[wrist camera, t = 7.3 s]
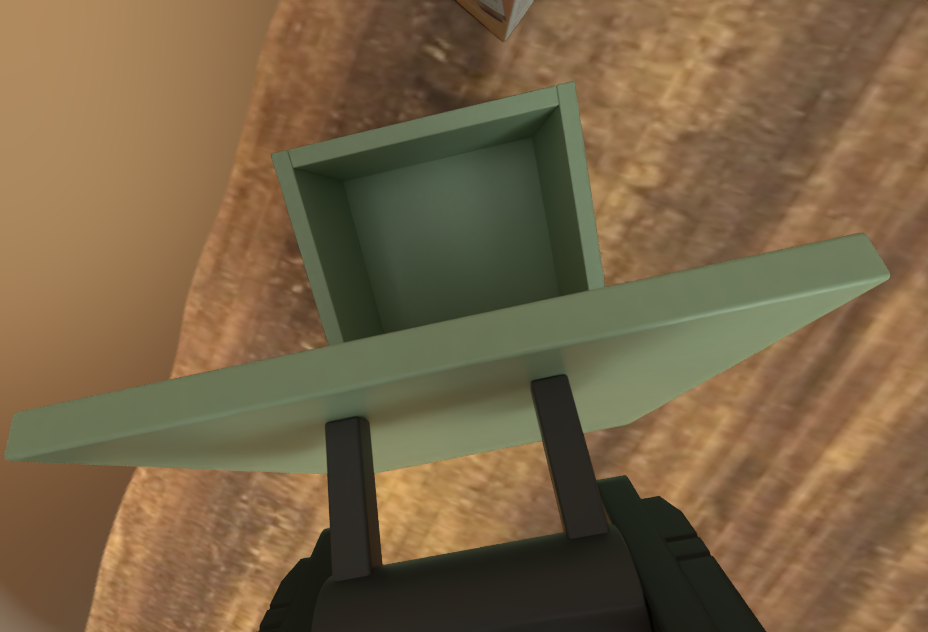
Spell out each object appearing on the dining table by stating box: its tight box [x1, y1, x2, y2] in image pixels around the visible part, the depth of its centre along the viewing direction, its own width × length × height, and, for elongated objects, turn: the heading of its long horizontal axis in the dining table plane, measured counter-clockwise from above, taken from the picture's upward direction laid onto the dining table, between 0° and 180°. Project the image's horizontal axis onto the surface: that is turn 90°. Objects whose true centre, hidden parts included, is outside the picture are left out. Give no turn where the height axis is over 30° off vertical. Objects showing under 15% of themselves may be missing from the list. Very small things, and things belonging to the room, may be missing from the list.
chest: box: [271, 81, 605, 346], centre depth 25 cm, size 16×14×9 cm
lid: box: [4, 233, 890, 632], centre depth 13 cm, size 16×14×5 cm
